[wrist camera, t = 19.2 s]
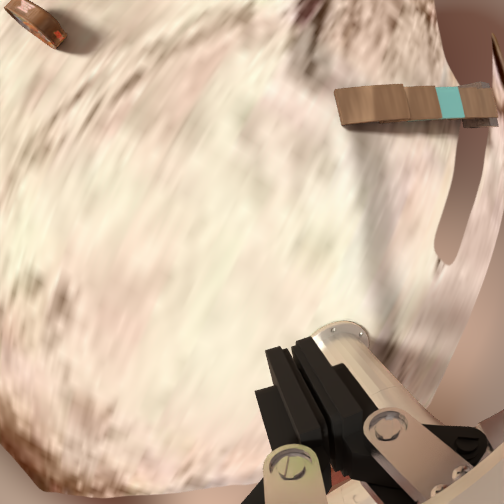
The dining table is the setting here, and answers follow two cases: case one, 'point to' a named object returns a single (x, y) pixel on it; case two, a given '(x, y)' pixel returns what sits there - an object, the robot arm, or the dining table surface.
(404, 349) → the dining table surface
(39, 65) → the dining table surface
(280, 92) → the dining table surface
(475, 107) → the domino
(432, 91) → the domino
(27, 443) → the dining table surface
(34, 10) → the tin
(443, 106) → the domino
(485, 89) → the domino
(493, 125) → the block
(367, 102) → the domino
